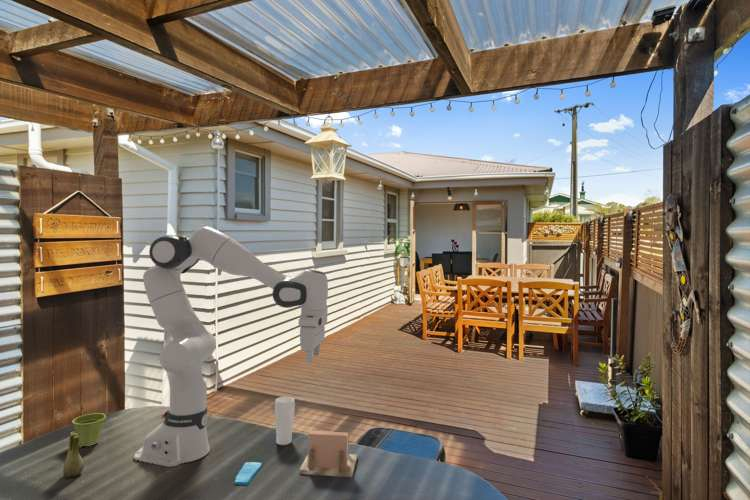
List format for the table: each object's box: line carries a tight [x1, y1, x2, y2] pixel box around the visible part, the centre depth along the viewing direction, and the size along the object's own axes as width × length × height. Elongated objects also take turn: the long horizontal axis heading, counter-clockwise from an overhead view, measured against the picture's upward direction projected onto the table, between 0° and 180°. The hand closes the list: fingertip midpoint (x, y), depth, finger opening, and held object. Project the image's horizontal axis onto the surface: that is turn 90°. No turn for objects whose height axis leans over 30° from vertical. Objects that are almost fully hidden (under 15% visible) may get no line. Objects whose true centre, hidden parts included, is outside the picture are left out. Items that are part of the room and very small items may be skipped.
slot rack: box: [298, 434, 358, 478], centre depth 130 cm, size 16×12×7 cm
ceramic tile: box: [307, 430, 349, 469], centre depth 127 cm, size 12×2×10 cm, turn 85°
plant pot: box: [71, 412, 107, 446], centre depth 141 cm, size 9×9×9 cm
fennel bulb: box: [62, 431, 85, 478], centre depth 121 cm, size 6×5×12 cm
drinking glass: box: [274, 396, 296, 446], centre depth 145 cm, size 7×7×15 cm
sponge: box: [234, 461, 263, 486], centre depth 123 cm, size 2×12×6 cm
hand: (313, 358), depth 139 cm, fingers open, 8 cm apart
